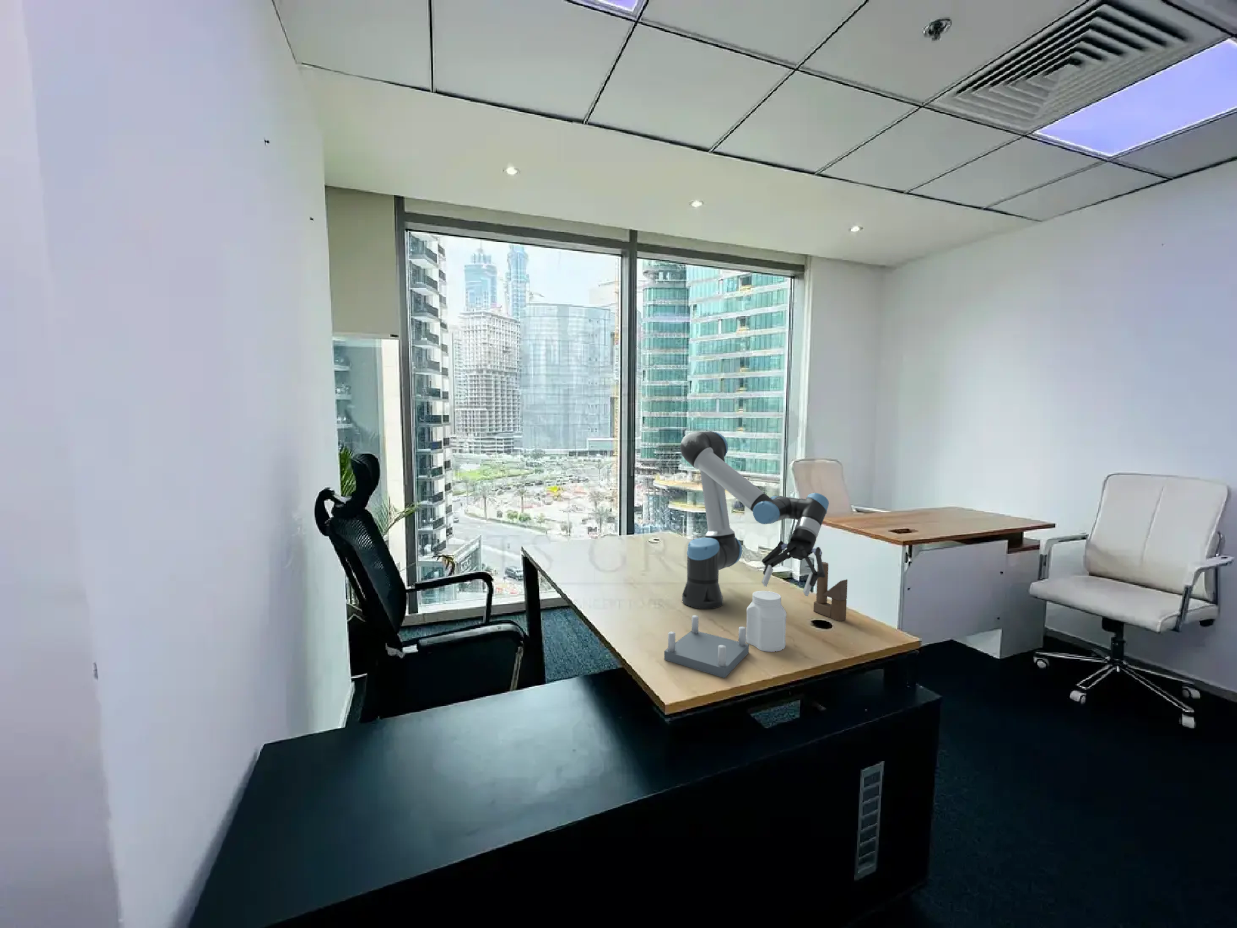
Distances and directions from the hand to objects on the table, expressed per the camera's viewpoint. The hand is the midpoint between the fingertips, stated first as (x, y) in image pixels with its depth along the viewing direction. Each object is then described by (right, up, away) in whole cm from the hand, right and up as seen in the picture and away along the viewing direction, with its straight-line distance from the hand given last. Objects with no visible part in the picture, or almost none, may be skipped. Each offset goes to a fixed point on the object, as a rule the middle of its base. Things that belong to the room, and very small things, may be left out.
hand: (784, 589), depth 153 cm
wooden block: (+22, -14, +18) cm, 32 cm away
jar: (-7, -16, -5) cm, 18 cm away
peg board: (-26, -16, -13) cm, 34 cm away
